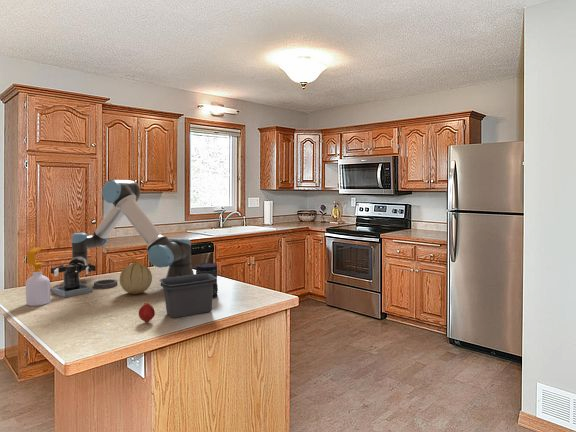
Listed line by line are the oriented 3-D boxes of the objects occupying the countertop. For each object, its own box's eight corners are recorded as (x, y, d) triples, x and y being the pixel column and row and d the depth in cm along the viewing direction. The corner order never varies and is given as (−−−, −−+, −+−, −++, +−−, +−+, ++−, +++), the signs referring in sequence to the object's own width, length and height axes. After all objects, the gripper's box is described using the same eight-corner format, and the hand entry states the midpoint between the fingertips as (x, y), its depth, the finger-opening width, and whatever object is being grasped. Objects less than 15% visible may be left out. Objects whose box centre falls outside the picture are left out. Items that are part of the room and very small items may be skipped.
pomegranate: (141, 320, 163) (140, 299, 162) (156, 319, 163) (155, 299, 163) (137, 325, 157) (136, 304, 156) (152, 324, 158) (152, 303, 157)
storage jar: (222, 295, 200) (221, 263, 198) (209, 300, 191) (209, 267, 189) (204, 292, 204) (204, 262, 203) (191, 297, 195) (191, 265, 194)
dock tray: (92, 291, 205) (92, 286, 205) (64, 297, 195) (64, 292, 195) (79, 287, 213) (79, 282, 213) (52, 293, 203) (51, 287, 203)
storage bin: (166, 321, 161) (166, 285, 160) (157, 311, 175) (156, 277, 173) (219, 313, 172) (219, 278, 171) (206, 303, 185) (206, 271, 184)
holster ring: (121, 285, 218) (121, 281, 218) (101, 289, 210) (101, 285, 210) (110, 282, 225) (109, 278, 225) (89, 286, 216) (89, 282, 216)
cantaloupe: (126, 299, 192) (125, 266, 191) (115, 292, 203) (114, 262, 202) (157, 293, 202) (156, 262, 200) (145, 288, 213) (145, 258, 212)
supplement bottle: (82, 288, 207) (82, 264, 206) (74, 292, 200) (73, 267, 199) (69, 288, 208) (68, 264, 207) (60, 291, 201) (60, 267, 200)
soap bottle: (55, 301, 188) (52, 247, 186) (37, 307, 180) (34, 250, 178) (40, 299, 191) (37, 246, 189) (21, 305, 183) (18, 249, 181)
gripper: (103, 270, 227) (99, 278, 207) (51, 273, 219) (41, 282, 199) (103, 256, 226) (99, 263, 206) (50, 258, 218) (41, 266, 198)
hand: (70, 272), depth 203 cm, fingers open, 13 cm apart
